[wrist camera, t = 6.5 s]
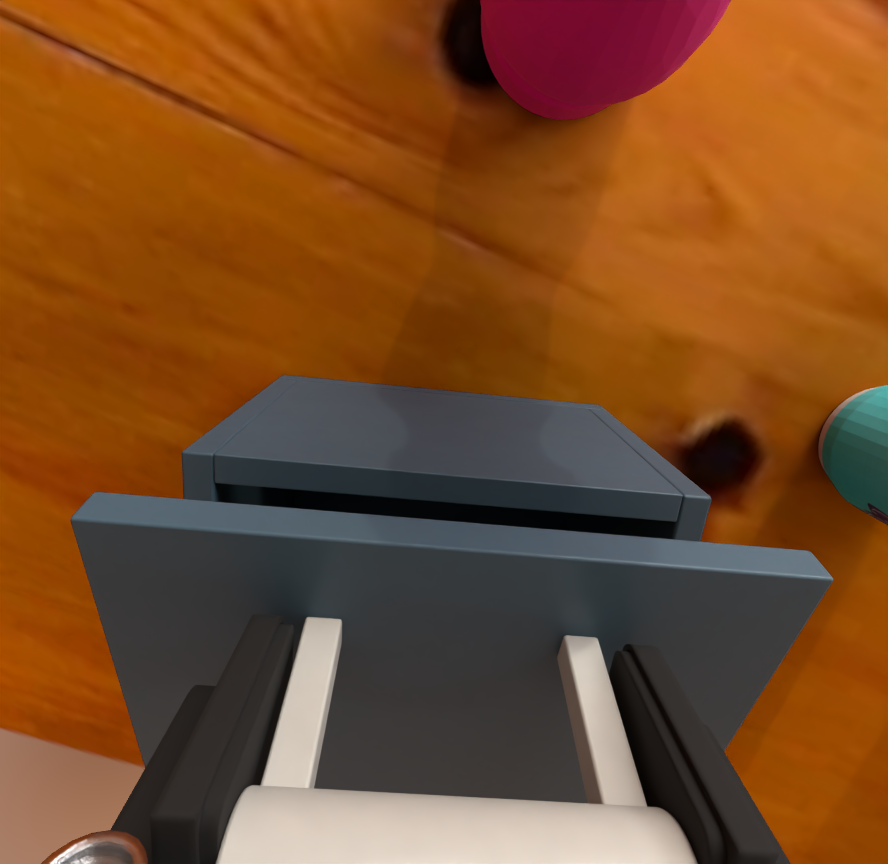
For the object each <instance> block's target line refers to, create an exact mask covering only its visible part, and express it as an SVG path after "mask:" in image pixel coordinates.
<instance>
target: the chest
mask: <svg viewBox="0 0 888 864" xmlns="http://www.w3.org/2000/svg"><path fill="white" fill-rule="evenodd" d="M182 471H183V497H184V499H189V500H201V501H213V502H225V503H237V504H249V505H261V506H273V507H286V508H298V509H310V510H322V511H334V512H346V513H358V514H370V515H383V516H395V517H407V518H419V519H431V520H443V521H455V522H467V523H480V524H492V525H504V526H516V527H528V528H540V529H552V530H564V531H577V532H589V533H601V534H613V535H625V536H637V537H649V538H661V539H673V540H686V541H698V542H700V541H701V537H702V534H703V530H704V526H705V522H706V519H707V515H708V511H709V507H710V504H711V497H710V496H709V495H708V494H707V493H705V492H704V491H703V490H702V489H700V488H699V487H698V486H697V485H696V484H694V483H693V482H692V481H691V480H690V479H688V478H687V477H686V476H685V475H684V474H682V473H681V472H680V471H679V470H677V469H676V468H675V467H674V466H673V465H671V464H670V463H669V462H668V461H667V460H665V459H664V458H663V457H662V456H661V455H659V454H658V453H657V452H656V451H655V450H653V449H652V448H651V447H650V446H648V445H647V444H646V443H645V442H644V441H642V440H641V439H640V438H639V437H638V436H636V435H635V434H634V433H633V432H632V431H630V430H629V429H628V428H627V427H625V426H624V425H623V424H622V423H621V422H619V421H618V420H617V419H616V418H615V417H613V416H612V415H611V414H610V413H609V412H607V411H606V410H605V409H604V408H603V407H601V406H600V405H593V404H582V403H572V402H561V401H551V400H540V399H530V398H520V397H509V396H499V395H488V394H478V393H467V392H457V391H446V390H436V389H426V388H415V387H405V386H394V385H384V384H373V383H363V382H352V381H342V380H332V379H321V378H311V377H300V376H290V375H282V376H281V377H280V378H278V379H277V380H276V381H274V382H273V383H272V384H270V385H269V386H268V387H266V388H265V389H264V390H262V391H261V392H260V393H259V394H257V395H256V396H255V397H253V398H252V399H251V400H249V401H248V402H247V403H245V404H244V405H243V406H241V407H240V408H239V409H237V410H236V411H235V412H234V413H232V414H231V415H230V416H228V417H227V418H226V419H224V420H223V421H222V422H220V423H219V424H218V425H216V426H215V427H214V428H212V429H211V430H210V431H208V432H207V433H206V434H205V435H203V436H202V437H201V438H199V439H198V440H197V441H195V442H194V443H193V444H191V445H190V446H189V447H187V448H186V449H185V450H183V452H182Z"/></svg>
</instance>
